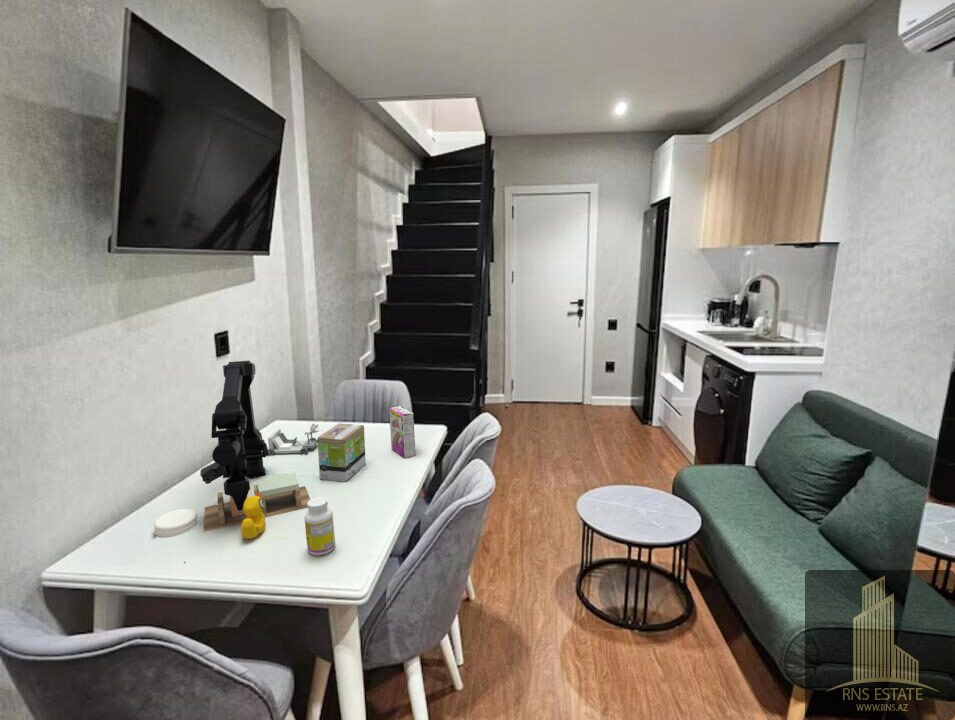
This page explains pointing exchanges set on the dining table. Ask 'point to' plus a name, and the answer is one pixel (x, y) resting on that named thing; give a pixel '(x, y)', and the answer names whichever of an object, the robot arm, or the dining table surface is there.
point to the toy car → (291, 442)
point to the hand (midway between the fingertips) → (239, 503)
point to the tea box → (341, 452)
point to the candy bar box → (402, 431)
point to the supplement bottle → (319, 527)
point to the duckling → (253, 517)
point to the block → (235, 508)
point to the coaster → (175, 522)
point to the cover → (277, 484)
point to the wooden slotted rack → (271, 506)
